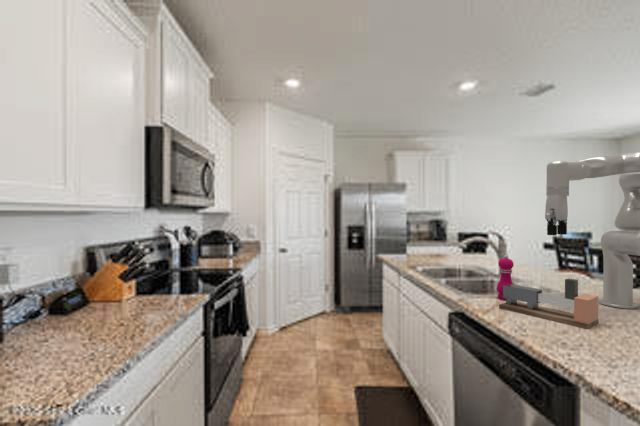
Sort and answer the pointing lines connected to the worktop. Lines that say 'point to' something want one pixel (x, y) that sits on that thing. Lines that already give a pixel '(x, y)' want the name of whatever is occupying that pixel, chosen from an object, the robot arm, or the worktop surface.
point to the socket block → (585, 308)
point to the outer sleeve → (521, 295)
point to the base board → (547, 314)
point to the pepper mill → (504, 275)
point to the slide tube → (563, 301)
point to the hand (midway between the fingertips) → (557, 234)
